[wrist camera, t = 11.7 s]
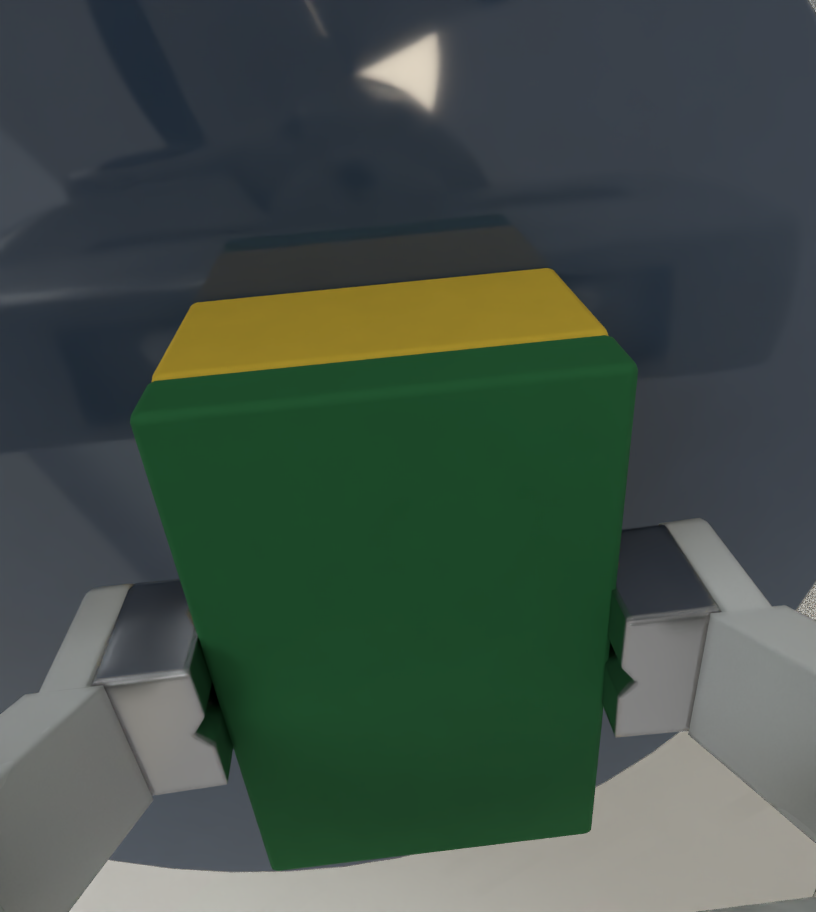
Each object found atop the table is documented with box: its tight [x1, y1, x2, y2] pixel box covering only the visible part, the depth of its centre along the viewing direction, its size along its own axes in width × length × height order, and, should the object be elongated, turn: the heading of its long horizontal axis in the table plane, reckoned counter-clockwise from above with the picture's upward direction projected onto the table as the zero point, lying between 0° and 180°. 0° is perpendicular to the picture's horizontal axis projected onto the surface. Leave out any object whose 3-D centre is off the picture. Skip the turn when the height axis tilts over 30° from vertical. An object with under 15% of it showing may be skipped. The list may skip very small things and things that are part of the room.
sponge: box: [130, 268, 638, 871], centre depth 9 cm, size 7×4×3 cm, turn 4°
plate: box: [0, 0, 816, 872], centre depth 11 cm, size 18×18×1 cm
